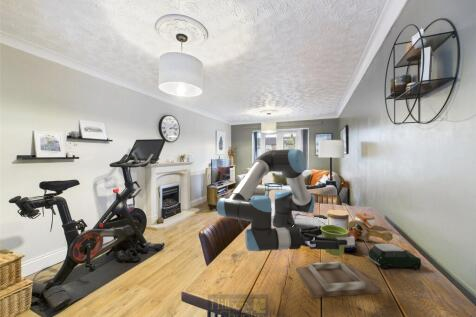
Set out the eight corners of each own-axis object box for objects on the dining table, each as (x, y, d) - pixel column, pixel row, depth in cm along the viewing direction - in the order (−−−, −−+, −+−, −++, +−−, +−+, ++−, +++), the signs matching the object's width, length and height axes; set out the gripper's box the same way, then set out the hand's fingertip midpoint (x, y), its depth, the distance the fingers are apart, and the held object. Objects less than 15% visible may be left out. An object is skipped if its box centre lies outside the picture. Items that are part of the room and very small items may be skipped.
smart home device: (322, 214, 153) (338, 223, 133) (322, 216, 153) (338, 225, 133) (312, 215, 153) (326, 223, 133) (312, 217, 153) (326, 226, 133)
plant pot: (320, 255, 71) (320, 232, 71) (320, 245, 80) (320, 223, 80) (350, 260, 68) (350, 235, 68) (346, 248, 76) (346, 226, 76)
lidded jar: (375, 231, 121) (375, 216, 121) (355, 228, 127) (354, 213, 127) (374, 226, 130) (374, 212, 130) (355, 223, 136) (355, 210, 136)
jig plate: (313, 297, 65) (313, 288, 65) (295, 270, 81) (295, 262, 81) (381, 292, 67) (381, 283, 67) (350, 266, 83) (350, 259, 83)
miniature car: (424, 270, 80) (424, 251, 80) (378, 270, 80) (378, 250, 80) (406, 259, 89) (406, 241, 89) (365, 258, 89) (365, 241, 89)
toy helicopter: (351, 234, 117) (351, 211, 117) (394, 246, 100) (394, 220, 100) (345, 238, 112) (345, 214, 112) (390, 251, 95) (389, 223, 95)
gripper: (279, 237, 83) (330, 234, 85) (298, 263, 62) (366, 260, 64) (279, 219, 83) (330, 217, 85) (298, 240, 62) (366, 236, 64)
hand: (345, 235), depth 74 cm, fingers closed on plant pot, 8 cm apart
